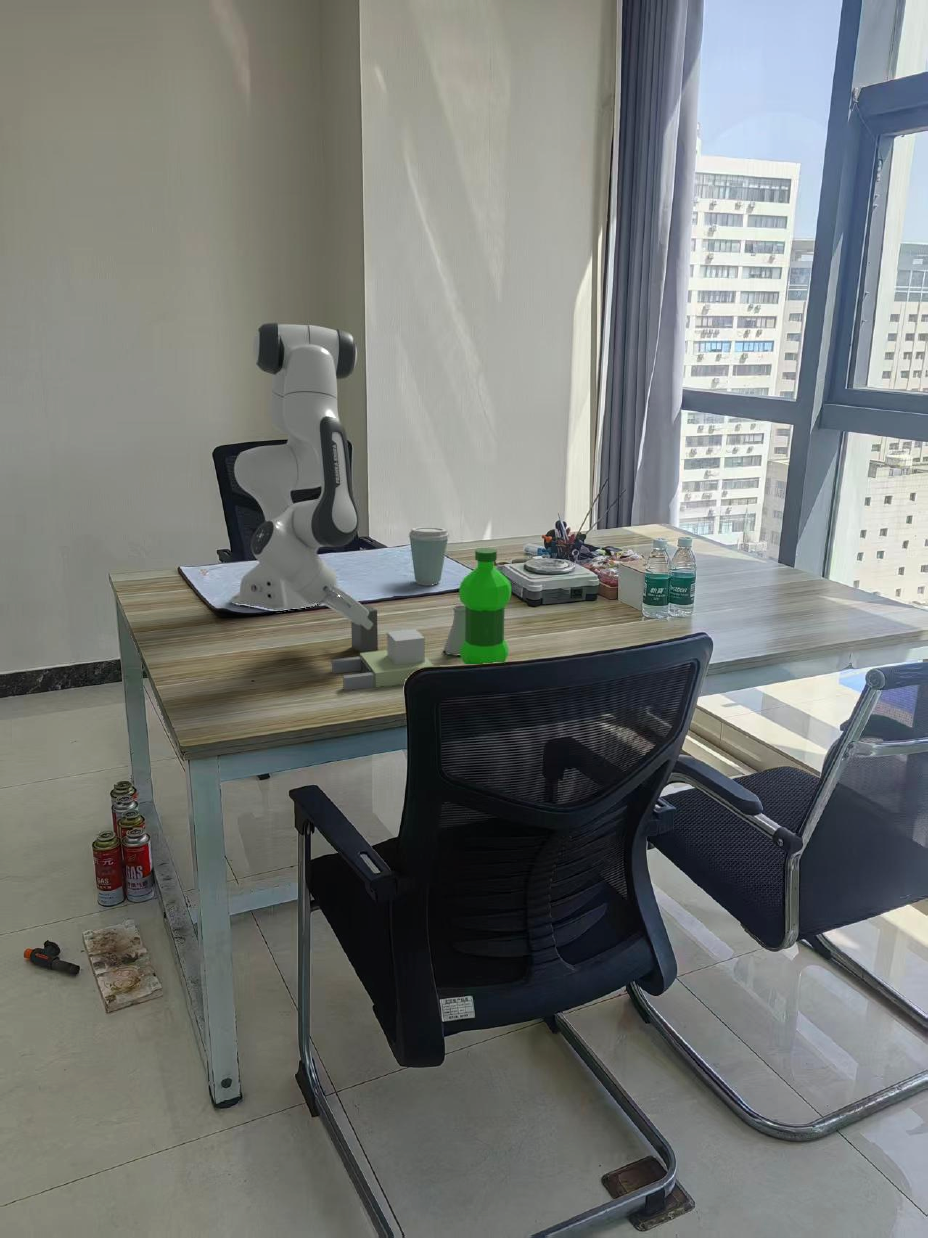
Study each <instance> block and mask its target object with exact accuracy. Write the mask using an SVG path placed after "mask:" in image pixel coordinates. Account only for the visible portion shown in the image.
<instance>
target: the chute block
mask: <svg viewBox="0 0 928 1238" xmlns="http://www.w3.org/2000/svg"><path fill="white" fill-rule="evenodd" d="M363 606H364V607H365V608H366V609H367V610H368V612H369V615H368V616H367V618H368V619H369V620H370V621H371V622H372V623H373V626H372V627H371V628H370V629H369V630H367V629H366V628H364V627H363V626H362V625H357V624H355V623H354V622H352V621H350V622H351V623H350V624H351V630H350V631H351V648H353V649H354V650H356V651H357V652H359V654H360V653H366V652H375V651H379V643H378V642H379V639H378V637H379V636H378V634H379V633H378V632H379V631H378V610H377V609H376V608H374V607H372V606H371V605H368V604H365V605H363Z"/></svg>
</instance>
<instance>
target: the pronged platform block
mask: <svg viewBox="0 0 928 1238" xmlns="http://www.w3.org/2000/svg"><path fill="white" fill-rule="evenodd" d="M425 639H426V638H425V637H424V636H423V635H422V634H421V632H419V631H418V629H416V628H411V629H401V630H392V631H387V632H386V641H387V644H386V646H387V647H386V648H387V650H386V649H385V650H375V651H370V652H365V653H360V652H359V656H352V657H344V658H343V657H341V658H335V659H331V672H332V673H333V675H335V674H343V673H351V672H358V671H359V672H360V671H361V672H362V673H356V674H354V673H353V674H346V675H343V676H342V686H343V689H344V691H351V690H352V689H353V690H358V688H361V689H367V688H381V687H380V686H384V687H391V686H398V684H400V685H404V684H403V683H404V682H405V679H406V678H408V676H409V675H411V673H412V672H413V671H415V670H417V669H419V668H421V667H427V666H434V667H435V665H434V664H433V663H432V662H431V660H429V659H428V658H427V657H426V655H425V654H426V653H425V652H426V647H425V644H426V643H425V642H426V640H425ZM374 686H376V687H374Z"/></svg>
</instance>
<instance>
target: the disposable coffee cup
mask: <svg viewBox="0 0 928 1238" xmlns="http://www.w3.org/2000/svg"><path fill="white" fill-rule="evenodd" d="M408 537H409V542H410V549H411V550H410V551H411V556H412V557H411V560H412V566H413V574H414V580H415V582H417V583H416V584H417V585H420V584H421V586H427V585H430V586H433V585H432V584H436V583H438V582H439V581H440V582H441V580H442V579H441V578H442V574H443V568H444V562H445V557H446V556H445V555H446V552H447V546H448V542H449V541H448V539H449V538H450V533H449V532H448V530H447V529H446V528H445V527H444V528H443V527H437V526H436V527H435V526H419V527H413V528H412V529H411V530H410V532H409V533H408ZM440 582H439V583H440Z"/></svg>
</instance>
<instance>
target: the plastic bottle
mask: <svg viewBox="0 0 928 1238" xmlns="http://www.w3.org/2000/svg"><path fill="white" fill-rule="evenodd" d="M497 554H498V550H497V549H495V548H490V547H480V548H477V549H476V550H475V551H474V558H475V561H477V567H475V568H474V569H473V570H472V571H470V572H469V573H468V574H467V575H466V576H465V577H464V578H463V580H462V581H461V583H460V585H459V588H458V594H459V595H458V596H459V601H460V603H462V605H465V606H466V615H465V641H464V643H463V645H462V648H461V650H460V656H459V657H460V658H461V660H462V662H463V663H464V664H465V665H466V664H483V663H493V662H505V663H506V661H507V657H508V655H509V647H508V643H507V641H506V640H505V613H506V612H505V608H506V607H507V605H508V604H509V602H510V599H511V596H512V584H511V581H510V580H509V579H508V578H507V577H506V576H505V575H504V574H503V573H502V572H500V571H499V570H498V569H496V567H495V562H496V561H497V560H498V557H497V556H498V555H497Z"/></svg>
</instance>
